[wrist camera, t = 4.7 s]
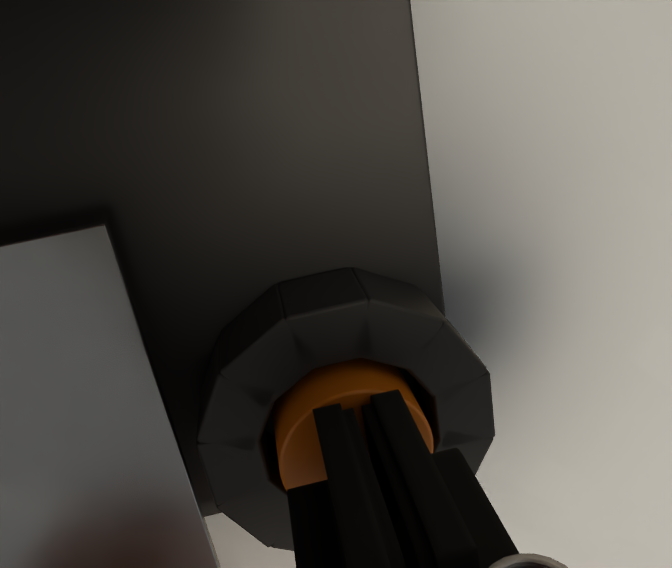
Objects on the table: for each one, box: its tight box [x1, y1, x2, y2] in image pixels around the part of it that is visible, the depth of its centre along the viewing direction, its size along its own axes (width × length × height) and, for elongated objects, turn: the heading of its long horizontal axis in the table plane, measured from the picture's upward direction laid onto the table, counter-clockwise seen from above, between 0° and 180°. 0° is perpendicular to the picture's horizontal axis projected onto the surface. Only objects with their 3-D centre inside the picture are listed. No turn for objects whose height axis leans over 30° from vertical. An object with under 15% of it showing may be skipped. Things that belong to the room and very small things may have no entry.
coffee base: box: [0, 0, 495, 551], centre depth 11 cm, size 15×16×3 cm
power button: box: [273, 358, 434, 491], centre depth 12 cm, size 3×3×2 cm
